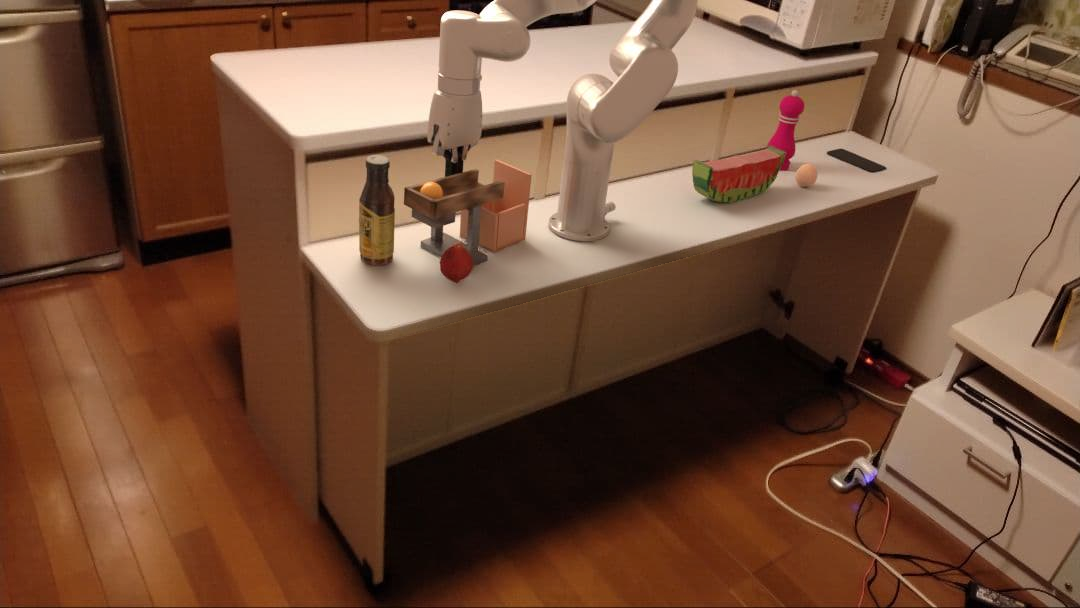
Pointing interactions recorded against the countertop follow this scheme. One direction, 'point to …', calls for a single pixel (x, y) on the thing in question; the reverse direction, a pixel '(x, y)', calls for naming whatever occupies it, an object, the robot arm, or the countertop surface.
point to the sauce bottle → (376, 214)
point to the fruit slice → (737, 175)
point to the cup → (503, 211)
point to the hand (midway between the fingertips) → (453, 179)
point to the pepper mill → (787, 126)
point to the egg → (806, 175)
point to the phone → (856, 160)
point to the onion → (456, 263)
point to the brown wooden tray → (451, 197)
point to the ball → (432, 190)
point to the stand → (444, 241)
